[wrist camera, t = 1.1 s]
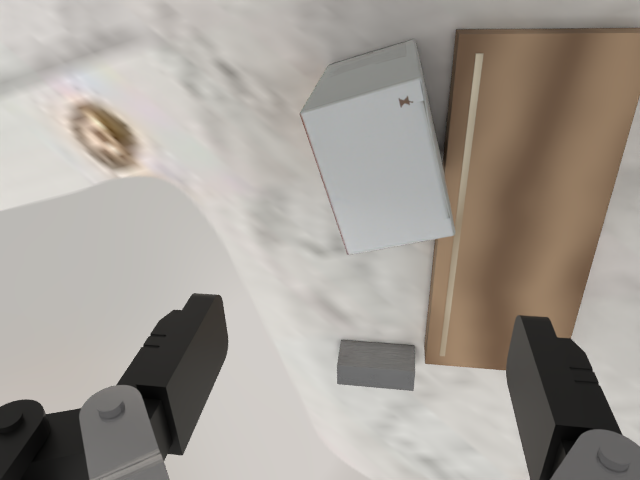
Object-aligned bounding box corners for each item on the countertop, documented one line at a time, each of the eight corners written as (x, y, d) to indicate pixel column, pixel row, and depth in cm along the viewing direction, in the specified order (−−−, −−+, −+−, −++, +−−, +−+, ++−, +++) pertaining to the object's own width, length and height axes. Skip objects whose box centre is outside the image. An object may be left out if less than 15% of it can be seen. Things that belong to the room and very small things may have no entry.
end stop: (414, 345, 41) (415, 372, 38) (412, 364, 42) (413, 390, 39) (341, 340, 42) (337, 365, 39) (341, 358, 43) (337, 383, 40)
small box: (327, 63, 31) (295, 108, 22) (416, 36, 30) (421, 72, 21) (360, 180, 35) (345, 259, 26) (442, 160, 33) (456, 238, 24)
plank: (641, 28, 28) (658, 33, 26) (553, 356, 40) (560, 375, 38) (456, 29, 29) (459, 34, 27) (424, 346, 41) (425, 364, 39)
